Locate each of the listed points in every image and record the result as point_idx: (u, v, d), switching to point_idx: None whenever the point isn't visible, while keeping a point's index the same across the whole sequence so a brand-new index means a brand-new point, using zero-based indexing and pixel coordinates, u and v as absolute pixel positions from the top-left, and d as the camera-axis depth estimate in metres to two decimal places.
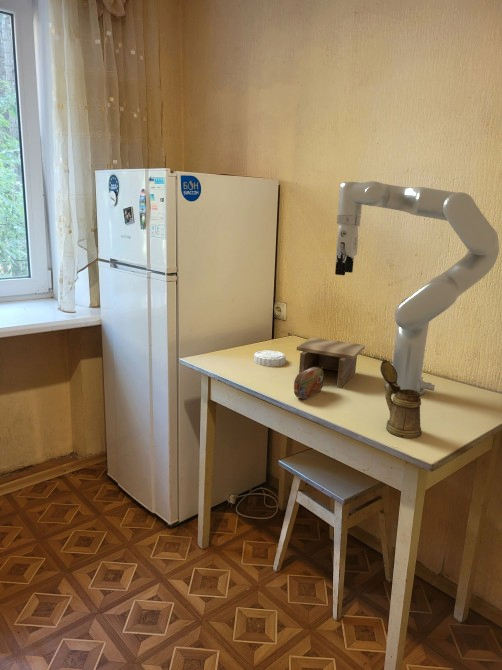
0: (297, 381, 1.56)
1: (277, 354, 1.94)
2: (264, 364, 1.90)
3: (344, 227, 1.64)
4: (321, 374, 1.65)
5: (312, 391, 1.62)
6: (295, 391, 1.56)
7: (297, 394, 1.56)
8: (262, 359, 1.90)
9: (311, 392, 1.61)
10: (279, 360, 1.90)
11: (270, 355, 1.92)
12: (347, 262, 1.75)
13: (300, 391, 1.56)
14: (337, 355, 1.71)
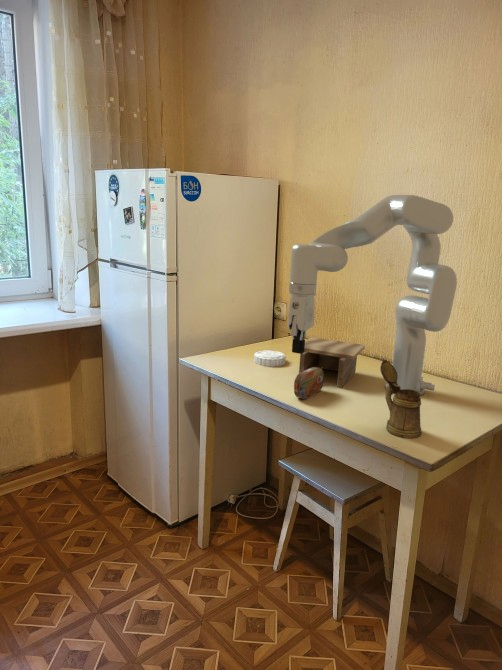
0: (297, 381, 1.56)
1: (277, 354, 1.94)
2: (264, 364, 1.90)
3: (296, 298, 1.39)
4: (321, 374, 1.65)
5: (312, 392, 1.62)
6: (295, 391, 1.56)
7: (297, 394, 1.56)
8: (262, 359, 1.90)
9: (311, 392, 1.61)
10: (279, 360, 1.90)
11: (270, 355, 1.92)
12: None
13: (300, 391, 1.56)
14: (337, 355, 1.71)
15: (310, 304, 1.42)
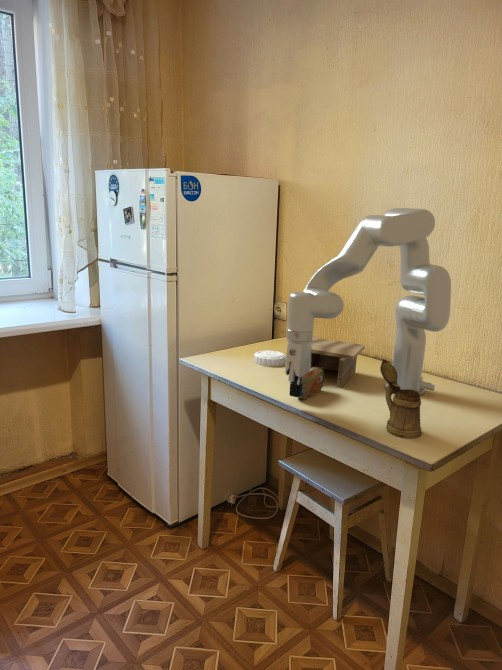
0: None
1: (277, 354, 1.94)
2: (264, 364, 1.90)
3: (293, 345, 1.42)
4: (321, 374, 1.65)
5: (312, 391, 1.62)
6: None
7: None
8: (262, 359, 1.90)
9: (311, 392, 1.61)
10: (279, 360, 1.90)
11: (270, 355, 1.92)
12: None
13: None
14: (337, 355, 1.71)
15: (307, 350, 1.45)
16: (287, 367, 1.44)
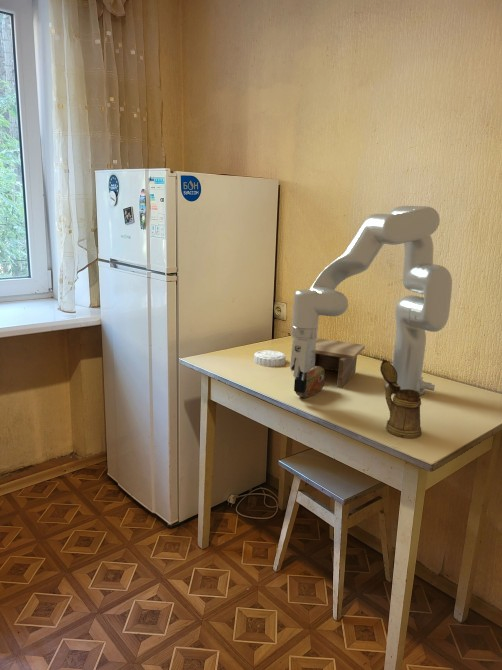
0: None
1: (277, 354, 1.94)
2: (264, 364, 1.90)
3: (298, 341, 1.46)
4: (322, 373, 1.66)
5: (313, 390, 1.63)
6: None
7: (298, 393, 1.57)
8: (262, 359, 1.90)
9: (312, 391, 1.62)
10: (279, 360, 1.90)
11: (270, 355, 1.92)
12: None
13: None
14: (337, 355, 1.71)
15: (311, 346, 1.49)
16: (292, 363, 1.48)
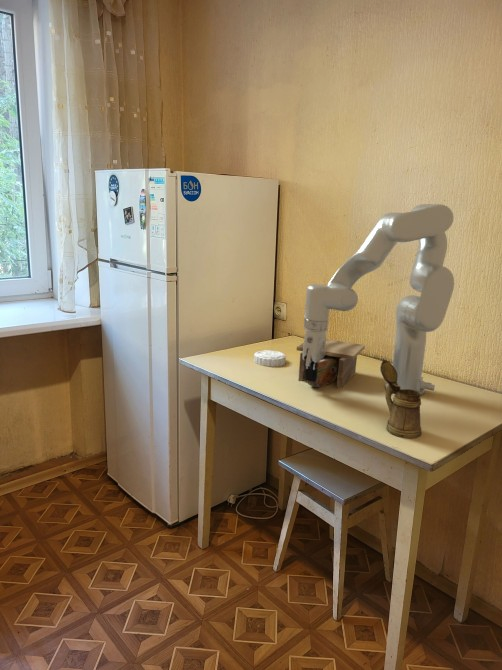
0: None
1: (277, 354, 1.94)
2: (264, 364, 1.90)
3: (311, 333, 1.56)
4: (335, 365, 1.75)
5: (325, 381, 1.72)
6: None
7: (309, 382, 1.67)
8: (262, 359, 1.90)
9: (324, 381, 1.72)
10: (279, 360, 1.90)
11: (270, 355, 1.92)
12: None
13: None
14: (337, 355, 1.71)
15: (322, 338, 1.59)
16: (304, 353, 1.58)
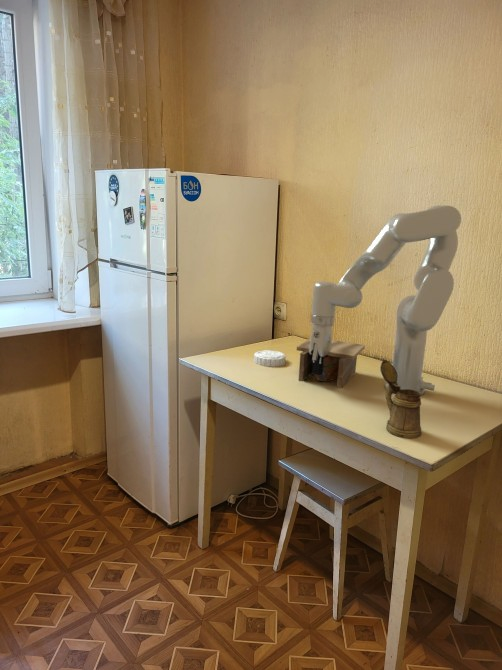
0: None
1: (277, 354, 1.94)
2: (264, 364, 1.90)
3: (317, 328, 1.62)
4: None
5: (333, 376, 1.77)
6: None
7: (316, 376, 1.74)
8: (262, 359, 1.90)
9: (332, 376, 1.77)
10: (279, 360, 1.90)
11: (270, 355, 1.92)
12: None
13: None
14: (337, 355, 1.71)
15: (329, 333, 1.65)
16: (311, 348, 1.64)
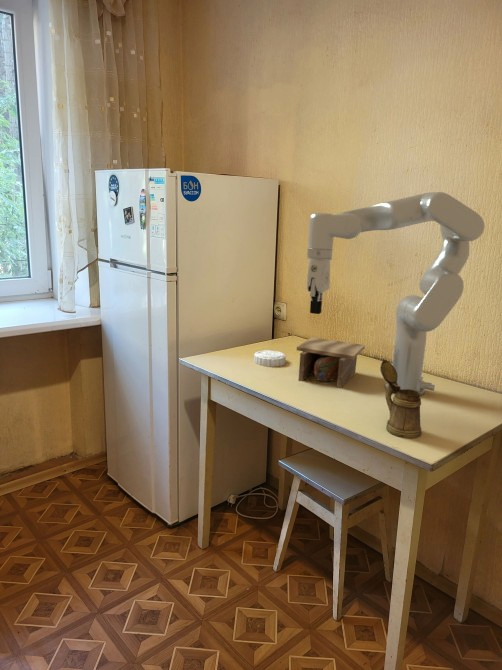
0: (316, 364, 1.73)
1: (277, 354, 1.94)
2: (264, 364, 1.90)
3: (315, 261, 1.53)
4: None
5: (334, 376, 1.77)
6: (315, 373, 1.74)
7: (316, 376, 1.74)
8: (262, 359, 1.90)
9: (332, 376, 1.77)
10: (279, 360, 1.90)
11: (270, 355, 1.92)
12: None
13: (319, 373, 1.73)
14: (337, 355, 1.71)
15: (327, 268, 1.56)
16: (309, 283, 1.55)
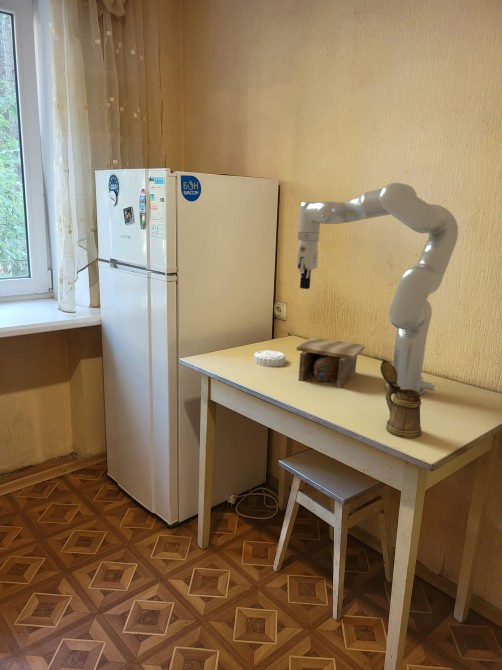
0: (316, 364, 1.73)
1: (277, 354, 1.94)
2: (264, 364, 1.90)
3: (303, 243, 1.79)
4: None
5: (334, 376, 1.77)
6: (315, 373, 1.74)
7: (316, 376, 1.74)
8: (262, 359, 1.90)
9: (332, 376, 1.77)
10: (279, 360, 1.90)
11: (270, 355, 1.92)
12: None
13: (319, 373, 1.73)
14: (337, 355, 1.71)
15: (314, 249, 1.82)
16: (298, 261, 1.80)
